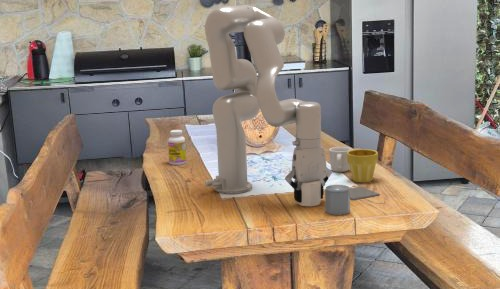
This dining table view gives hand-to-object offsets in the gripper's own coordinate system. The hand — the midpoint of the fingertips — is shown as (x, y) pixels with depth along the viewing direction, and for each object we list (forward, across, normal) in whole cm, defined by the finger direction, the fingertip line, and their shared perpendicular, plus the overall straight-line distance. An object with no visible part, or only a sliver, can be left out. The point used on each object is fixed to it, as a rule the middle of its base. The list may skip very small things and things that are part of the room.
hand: (308, 199), depth 222 cm
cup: (+2, +29, +28) cm, 40 cm away
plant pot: (+2, +29, +14) cm, 32 cm away
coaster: (+1, +18, +1) cm, 18 cm away
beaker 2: (+1, +3, -11) cm, 12 cm away
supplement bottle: (+3, -16, +73) cm, 74 cm away
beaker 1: (+1, 0, 0) cm, 1 cm away
